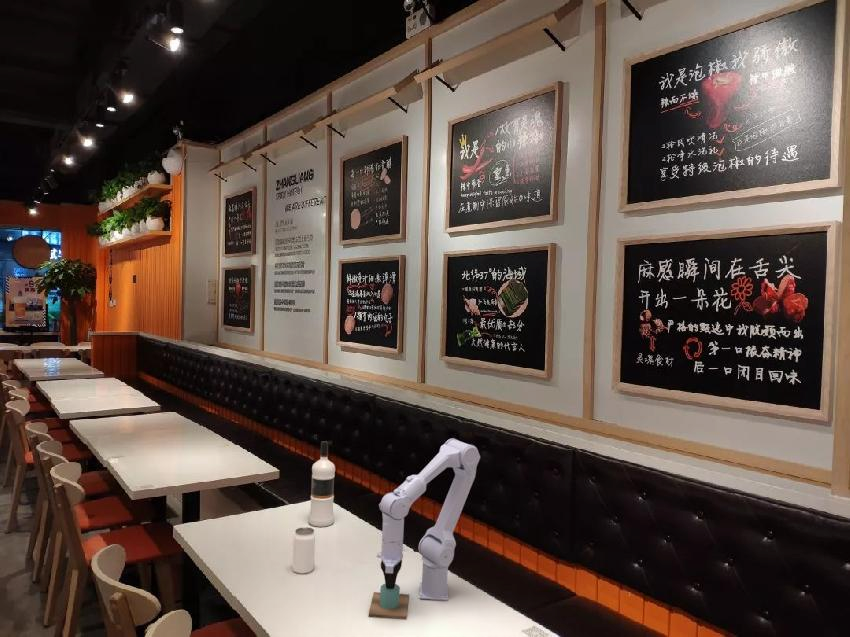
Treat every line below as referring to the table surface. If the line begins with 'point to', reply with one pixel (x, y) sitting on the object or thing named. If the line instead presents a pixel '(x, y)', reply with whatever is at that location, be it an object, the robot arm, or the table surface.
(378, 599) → the stud board
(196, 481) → the table surface
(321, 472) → the vodka
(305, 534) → the can
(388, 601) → the cap
